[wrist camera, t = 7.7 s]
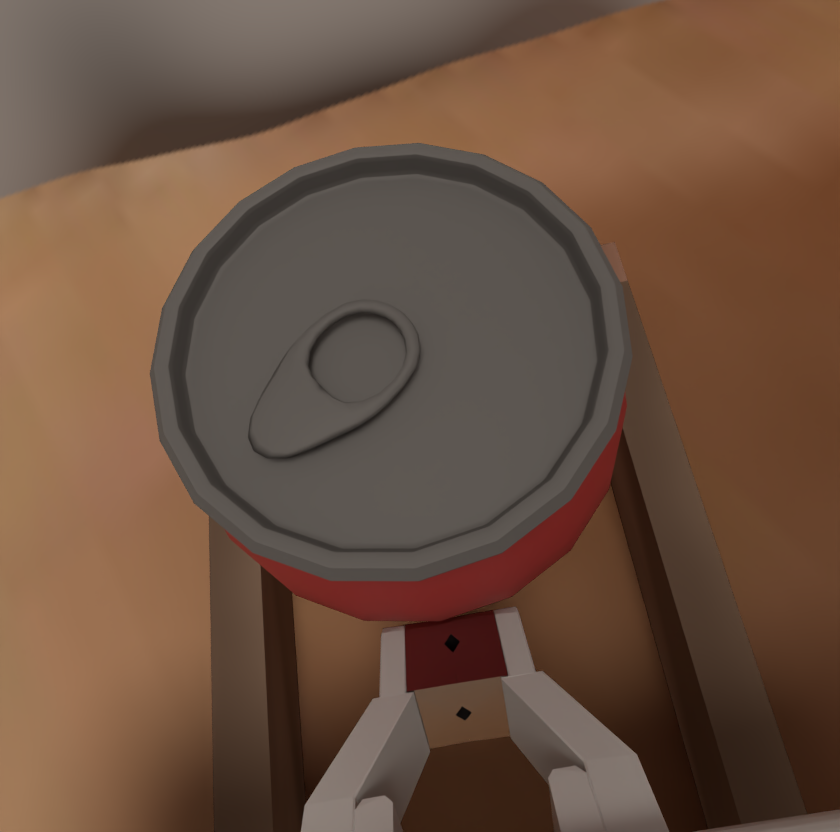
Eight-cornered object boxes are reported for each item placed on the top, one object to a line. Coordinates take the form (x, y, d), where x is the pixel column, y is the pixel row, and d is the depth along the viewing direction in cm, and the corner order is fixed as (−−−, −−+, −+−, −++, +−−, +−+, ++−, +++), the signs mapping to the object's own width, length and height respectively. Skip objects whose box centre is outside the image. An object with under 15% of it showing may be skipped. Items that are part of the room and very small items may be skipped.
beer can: (305, 499, 17) (2, 341, 6) (438, 371, 19) (389, 35, 7) (440, 648, 16) (364, 819, 4) (580, 496, 17) (817, 307, 5)
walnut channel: (596, 284, 19) (614, 242, 17) (834, 1046, 12) (923, 1160, 10) (237, 351, 20) (205, 319, 17) (267, 1115, 13) (220, 1238, 10)
